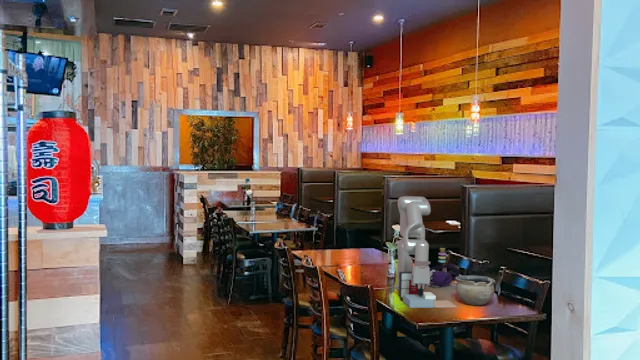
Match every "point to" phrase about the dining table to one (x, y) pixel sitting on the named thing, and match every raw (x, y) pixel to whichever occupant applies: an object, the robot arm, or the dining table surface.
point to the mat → (443, 303)
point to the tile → (428, 295)
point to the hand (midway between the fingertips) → (420, 295)
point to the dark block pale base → (406, 284)
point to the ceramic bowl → (475, 289)
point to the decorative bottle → (440, 276)
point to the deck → (417, 301)
